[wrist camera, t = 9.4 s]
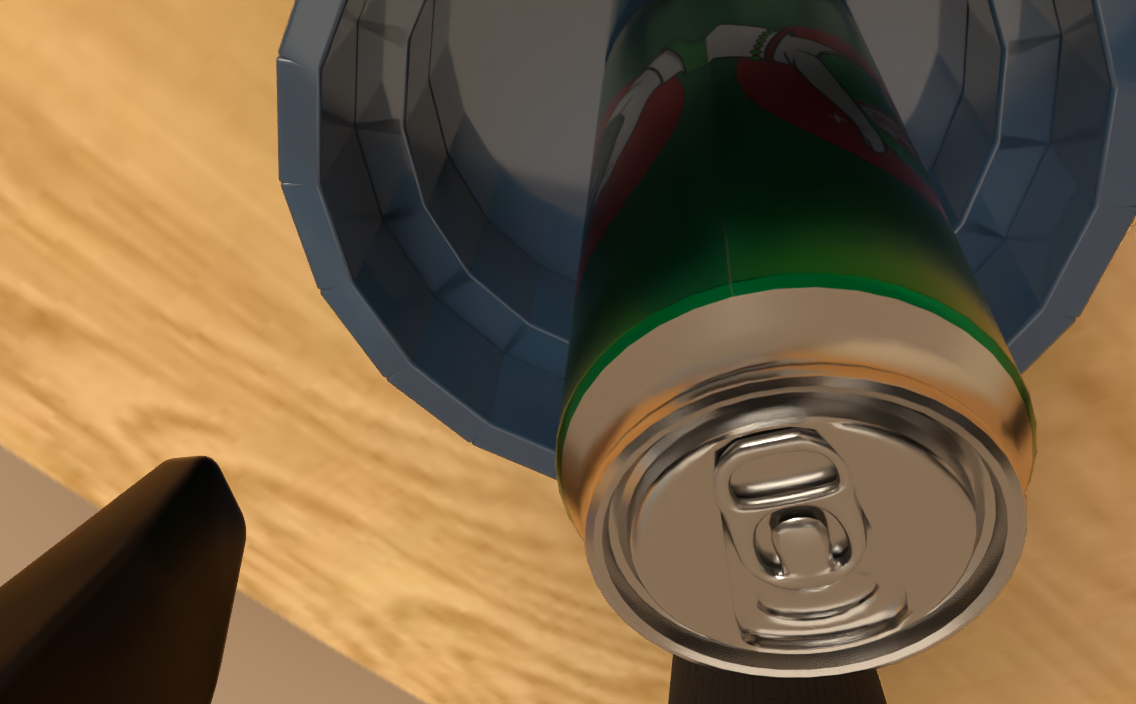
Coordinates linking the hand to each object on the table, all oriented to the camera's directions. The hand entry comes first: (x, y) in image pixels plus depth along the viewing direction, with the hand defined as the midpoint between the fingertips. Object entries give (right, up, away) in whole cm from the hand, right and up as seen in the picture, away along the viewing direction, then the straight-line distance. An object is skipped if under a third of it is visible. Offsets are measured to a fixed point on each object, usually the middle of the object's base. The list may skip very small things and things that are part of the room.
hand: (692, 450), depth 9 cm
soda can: (+2, +6, +11) cm, 13 cm away
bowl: (+1, +6, +11) cm, 13 cm away
